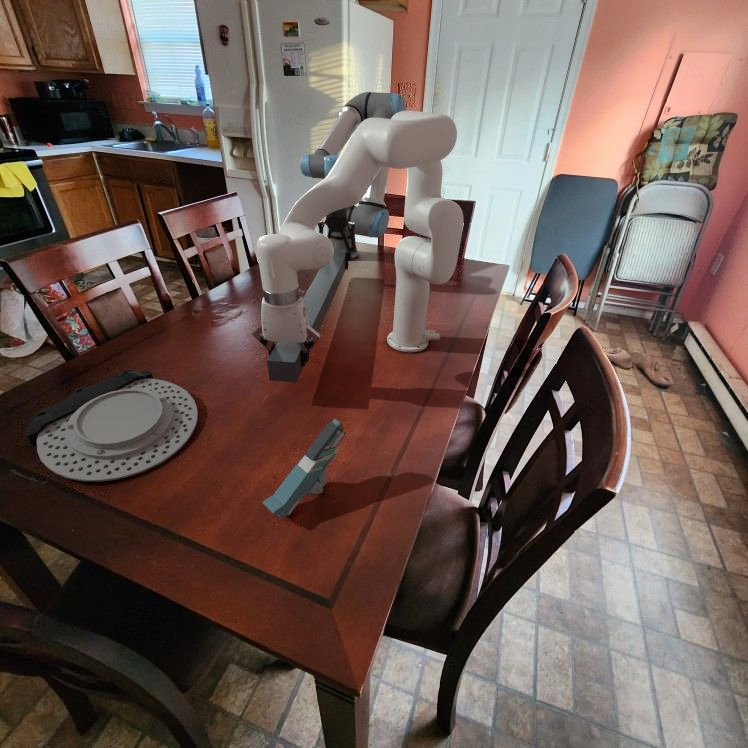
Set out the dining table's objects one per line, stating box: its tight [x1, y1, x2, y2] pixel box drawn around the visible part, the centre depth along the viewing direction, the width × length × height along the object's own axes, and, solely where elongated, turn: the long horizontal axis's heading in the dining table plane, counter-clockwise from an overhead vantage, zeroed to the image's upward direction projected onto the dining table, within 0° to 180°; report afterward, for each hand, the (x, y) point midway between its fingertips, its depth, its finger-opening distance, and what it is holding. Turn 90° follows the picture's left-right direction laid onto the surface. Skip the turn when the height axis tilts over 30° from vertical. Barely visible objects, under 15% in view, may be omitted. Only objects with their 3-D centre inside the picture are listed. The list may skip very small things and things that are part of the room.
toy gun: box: [262, 418, 346, 520], centre depth 76 cm, size 4×19×10 cm
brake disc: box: [23, 369, 199, 483], centre depth 89 cm, size 32×30×5 cm
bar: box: [266, 249, 347, 383], centre depth 128 cm, size 83×6×6 cm, turn 175°
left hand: (337, 267), depth 159 cm, fingers closed on bar, 7 cm apart
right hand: (289, 361), depth 100 cm, fingers closed on bar, 6 cm apart
